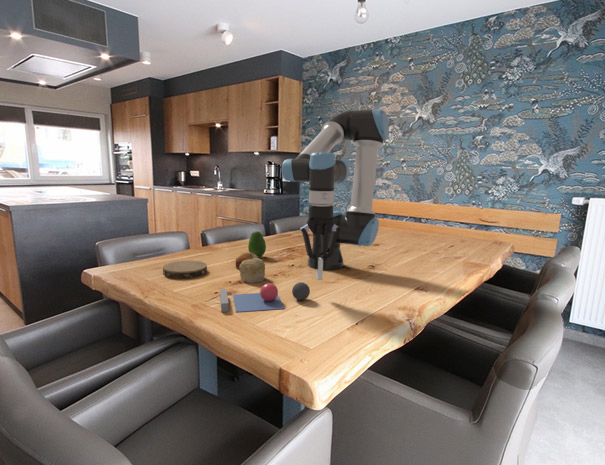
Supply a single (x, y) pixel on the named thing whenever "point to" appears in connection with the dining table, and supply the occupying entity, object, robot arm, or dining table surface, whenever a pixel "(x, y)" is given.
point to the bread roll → (244, 258)
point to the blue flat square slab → (255, 303)
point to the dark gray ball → (301, 291)
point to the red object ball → (269, 292)
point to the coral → (252, 270)
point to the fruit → (257, 244)
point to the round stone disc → (184, 269)
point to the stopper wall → (224, 300)
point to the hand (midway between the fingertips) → (318, 278)
